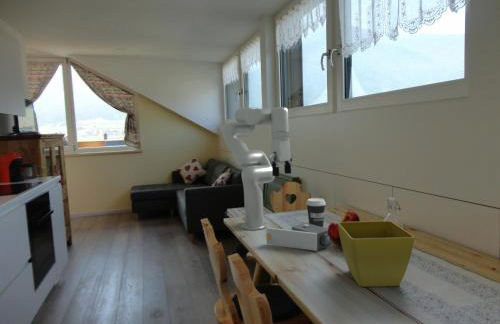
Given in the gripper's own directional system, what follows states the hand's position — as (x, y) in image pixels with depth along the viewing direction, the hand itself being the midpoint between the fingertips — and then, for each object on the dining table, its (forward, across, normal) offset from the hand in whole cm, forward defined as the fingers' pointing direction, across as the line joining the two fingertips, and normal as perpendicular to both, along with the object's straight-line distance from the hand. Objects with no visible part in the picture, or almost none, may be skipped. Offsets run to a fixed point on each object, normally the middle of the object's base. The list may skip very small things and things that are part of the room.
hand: (282, 174), depth 148 cm
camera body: (+30, -3, +12) cm, 32 cm away
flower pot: (+32, +15, +44) cm, 56 cm away
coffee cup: (+30, -22, +4) cm, 38 cm away
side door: (+30, +6, +7) cm, 31 cm away
